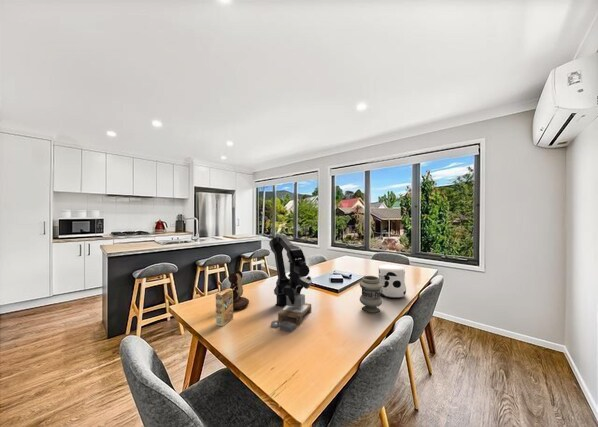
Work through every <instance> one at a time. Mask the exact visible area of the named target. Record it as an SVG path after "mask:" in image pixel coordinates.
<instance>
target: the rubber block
mask: <svg viewBox="0 0 598 427" xmlns="http://www.w3.org/2000/svg"><path fill="white" fill-rule="evenodd" d="M279 330H281V331H284V332H287V333H290V334H291V333H293V331H295V330H296V323H293V322H290V321H286V320H283V321H282V322H280V323H279Z"/></svg>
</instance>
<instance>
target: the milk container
mask: <svg viewBox="0 0 598 427" xmlns="http://www.w3.org/2000/svg"><path fill="white" fill-rule="evenodd" d="M405 273H406V272H405V267H404V266H400V265H395V264H382V265H379V266H378V278H379V282H381V284H382V288H381V289H380V296H383V297H385V298H392V299H401V298H404V297H405V296H406V295H407V286H406V282H405V281H406V280H405V279H406V277H405Z"/></svg>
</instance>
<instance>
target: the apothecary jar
mask: <svg viewBox="0 0 598 427" xmlns="http://www.w3.org/2000/svg"><path fill="white" fill-rule="evenodd" d="M359 287H360V288H361V295H360V296H359V302H360V303H361V304H362V305H363V306H362V307H361V311H362V312H363V313H367V314H369V315H370V314H371V315H377V314H378V315H379V314H380V313H381V309H380V308H379V307H380V306H381V305H383V302H384V300H383V298H382V297H381V294H380V289H381V288H382V284H381V282H379V276H374V275H364V276H362V280H361V281H360V282H359Z"/></svg>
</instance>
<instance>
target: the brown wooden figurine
mask: <svg viewBox="0 0 598 427" xmlns="http://www.w3.org/2000/svg"><path fill="white" fill-rule="evenodd" d="M242 278H243V272H242V271H240V270H238V269H237V270H236V271H234V272H233V273H229V275H228V282H230V286H229V289H233V310H237V309H238V310H239V311H241V310H242V308H245V307H246V306H249V304H250V300H249V299H248V298H246V297H244V296H243V293H244V288H243V282H242Z"/></svg>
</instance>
